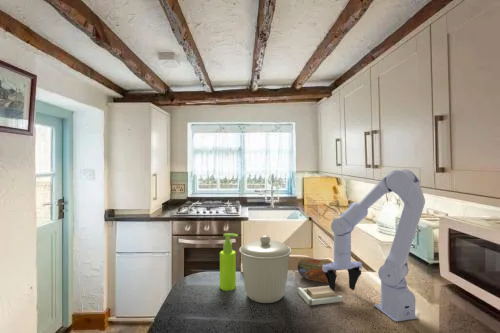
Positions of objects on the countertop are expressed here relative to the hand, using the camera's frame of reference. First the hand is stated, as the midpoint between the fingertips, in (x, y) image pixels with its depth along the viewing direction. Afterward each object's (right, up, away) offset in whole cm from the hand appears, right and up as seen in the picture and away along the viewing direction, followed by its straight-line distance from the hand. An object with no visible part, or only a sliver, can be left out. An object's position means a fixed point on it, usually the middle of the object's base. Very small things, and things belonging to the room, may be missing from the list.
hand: (342, 290), depth 101 cm
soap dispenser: (-40, -2, +6) cm, 41 cm away
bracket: (-9, -2, -2) cm, 9 cm away
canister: (-27, -2, -1) cm, 27 cm away
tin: (-6, -2, +13) cm, 14 cm away
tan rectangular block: (-8, -2, -2) cm, 9 cm away
